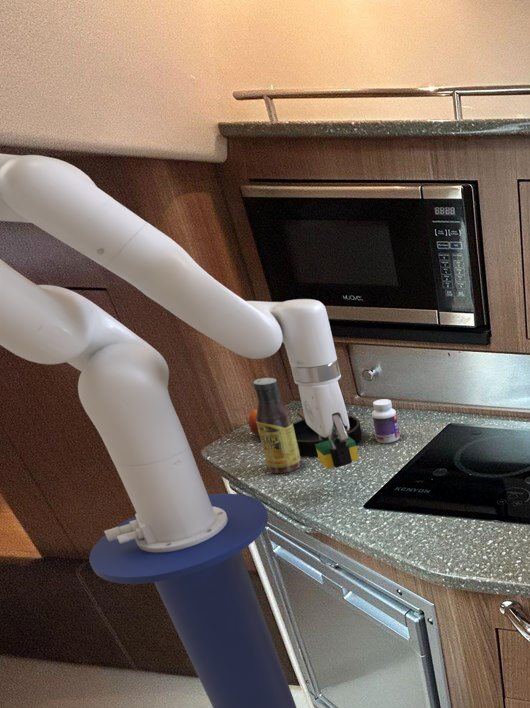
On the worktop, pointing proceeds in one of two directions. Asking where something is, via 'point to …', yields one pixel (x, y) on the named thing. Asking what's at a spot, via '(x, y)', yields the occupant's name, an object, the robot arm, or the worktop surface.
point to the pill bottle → (385, 421)
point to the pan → (309, 437)
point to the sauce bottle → (275, 428)
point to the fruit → (253, 422)
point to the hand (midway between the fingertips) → (338, 459)
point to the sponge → (325, 453)
